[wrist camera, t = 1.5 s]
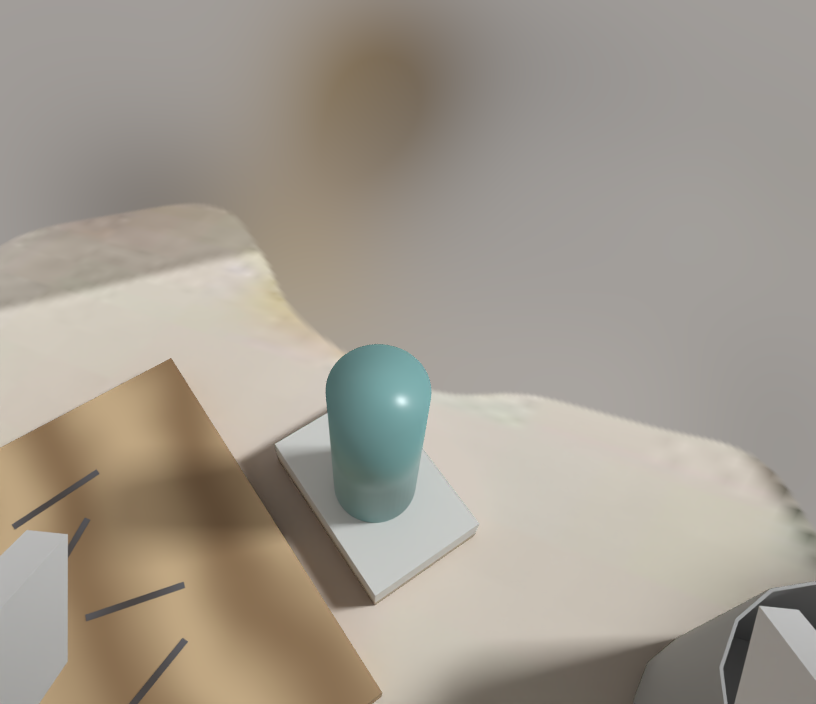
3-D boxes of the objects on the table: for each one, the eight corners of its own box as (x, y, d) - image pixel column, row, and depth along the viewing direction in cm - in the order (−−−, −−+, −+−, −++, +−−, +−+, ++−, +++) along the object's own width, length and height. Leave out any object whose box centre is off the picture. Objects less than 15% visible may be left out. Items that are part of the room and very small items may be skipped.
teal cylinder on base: (374, 401, 43) (377, 273, 32) (474, 535, 39) (514, 440, 29) (278, 459, 41) (249, 341, 30) (374, 605, 37) (379, 529, 27)
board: (176, 371, 43) (170, 357, 42) (381, 696, 35) (382, 692, 34) (-126, 532, 38) (-144, 522, 36) (37, 954, 30) (22, 961, 29)
